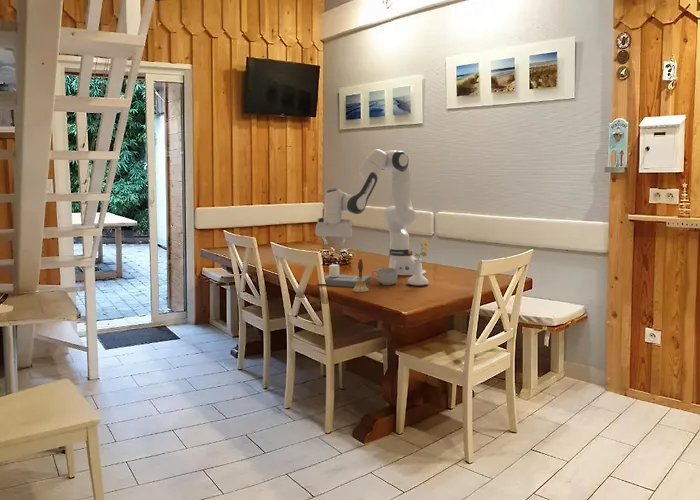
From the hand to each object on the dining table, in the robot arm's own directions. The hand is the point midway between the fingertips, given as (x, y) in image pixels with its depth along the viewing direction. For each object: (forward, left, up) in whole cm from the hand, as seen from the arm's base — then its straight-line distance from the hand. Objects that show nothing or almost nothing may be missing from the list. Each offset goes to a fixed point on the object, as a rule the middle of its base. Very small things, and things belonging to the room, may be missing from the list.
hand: (334, 244), depth 329 cm
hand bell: (-20, +15, -21) cm, 33 cm away
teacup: (-27, -5, -21) cm, 34 cm away
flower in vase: (-45, -8, -21) cm, 50 cm away
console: (-6, 0, -21) cm, 22 cm away
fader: (0, 0, -17) cm, 17 cm away
